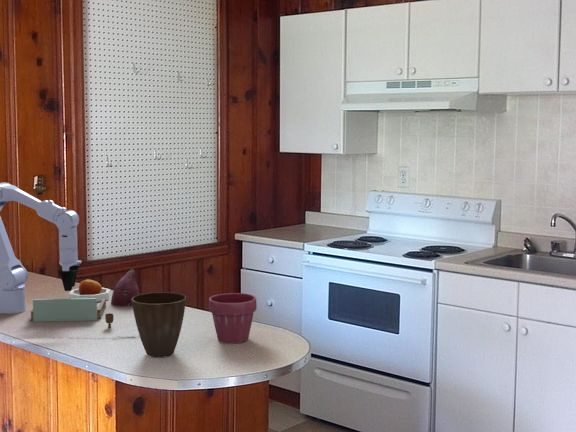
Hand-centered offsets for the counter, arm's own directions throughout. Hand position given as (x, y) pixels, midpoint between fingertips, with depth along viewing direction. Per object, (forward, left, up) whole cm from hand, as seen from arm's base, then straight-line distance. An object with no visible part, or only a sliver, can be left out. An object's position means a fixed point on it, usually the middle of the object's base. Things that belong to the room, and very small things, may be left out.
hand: (69, 288), depth 259 cm
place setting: (+25, -17, -10) cm, 32 cm away
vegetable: (+17, +13, -10) cm, 23 cm away
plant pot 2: (+52, -33, -10) cm, 62 cm away
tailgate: (0, -9, -8) cm, 12 cm away
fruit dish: (+3, +27, -9) cm, 29 cm away
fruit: (+3, +27, -10) cm, 29 cm away
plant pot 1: (+31, -45, -10) cm, 55 cm away
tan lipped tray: (0, -1, -9) cm, 9 cm away
